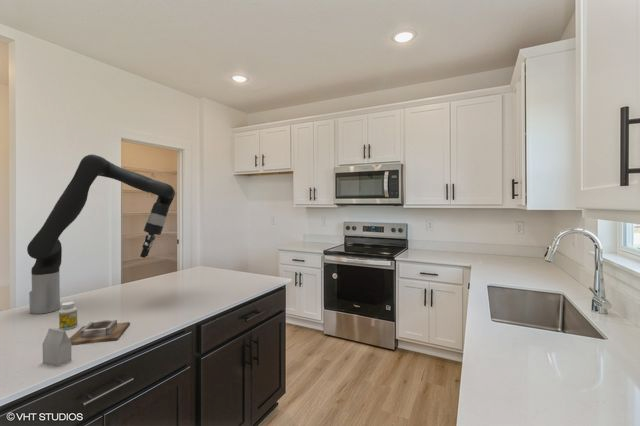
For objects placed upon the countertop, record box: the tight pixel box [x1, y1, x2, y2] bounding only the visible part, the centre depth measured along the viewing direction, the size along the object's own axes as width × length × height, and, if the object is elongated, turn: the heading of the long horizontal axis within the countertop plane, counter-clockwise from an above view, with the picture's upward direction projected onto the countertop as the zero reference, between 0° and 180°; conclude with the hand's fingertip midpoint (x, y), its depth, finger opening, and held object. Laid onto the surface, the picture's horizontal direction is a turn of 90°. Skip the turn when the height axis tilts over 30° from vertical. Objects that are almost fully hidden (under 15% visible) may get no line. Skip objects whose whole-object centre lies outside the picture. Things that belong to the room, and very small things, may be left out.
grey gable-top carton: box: [42, 327, 72, 367], centre depth 93 cm, size 4×7×10 cm, turn 74°
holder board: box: [68, 319, 131, 346], centre depth 111 cm, size 16×14×4 cm
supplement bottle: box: [58, 301, 78, 331], centre depth 117 cm, size 5×5×10 cm
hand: (143, 256), depth 141 cm, fingers open, 8 cm apart
